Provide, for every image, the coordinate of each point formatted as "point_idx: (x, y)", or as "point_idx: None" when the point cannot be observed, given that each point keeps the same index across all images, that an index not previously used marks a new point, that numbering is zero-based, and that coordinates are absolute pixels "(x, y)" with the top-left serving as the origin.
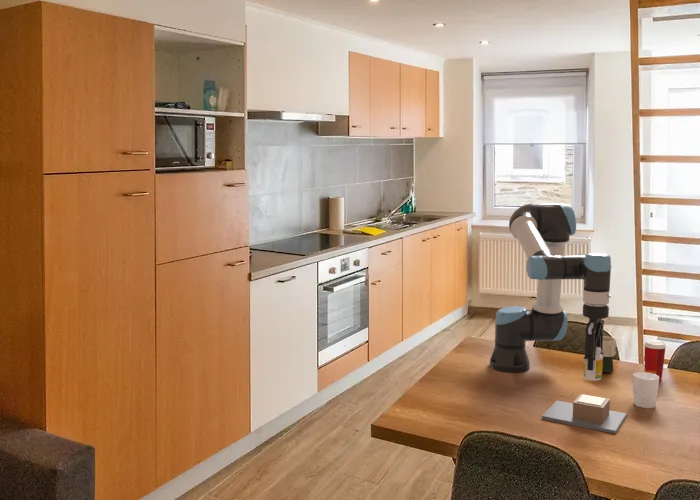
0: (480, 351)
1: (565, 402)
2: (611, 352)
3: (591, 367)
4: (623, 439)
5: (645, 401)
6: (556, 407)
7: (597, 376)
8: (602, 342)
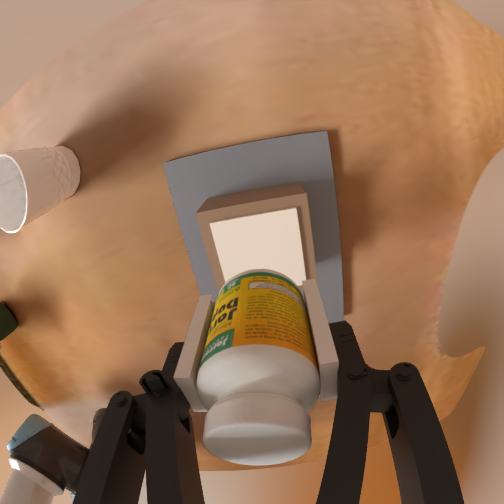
0: None
1: None
2: None
3: (353, 336)
4: (346, 101)
5: (66, 161)
6: None
7: (288, 285)
8: (103, 436)
